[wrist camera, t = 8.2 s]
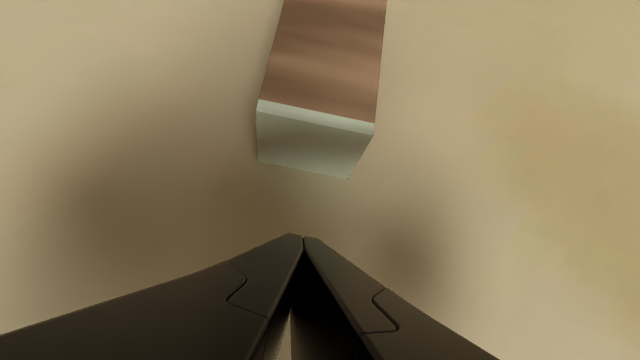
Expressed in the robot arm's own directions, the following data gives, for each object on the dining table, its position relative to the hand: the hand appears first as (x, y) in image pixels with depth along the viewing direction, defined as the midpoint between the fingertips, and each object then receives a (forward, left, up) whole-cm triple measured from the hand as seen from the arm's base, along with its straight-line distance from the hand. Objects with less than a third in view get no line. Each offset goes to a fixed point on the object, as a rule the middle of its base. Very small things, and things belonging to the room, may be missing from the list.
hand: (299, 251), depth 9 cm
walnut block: (+5, -3, -6) cm, 8 cm away
